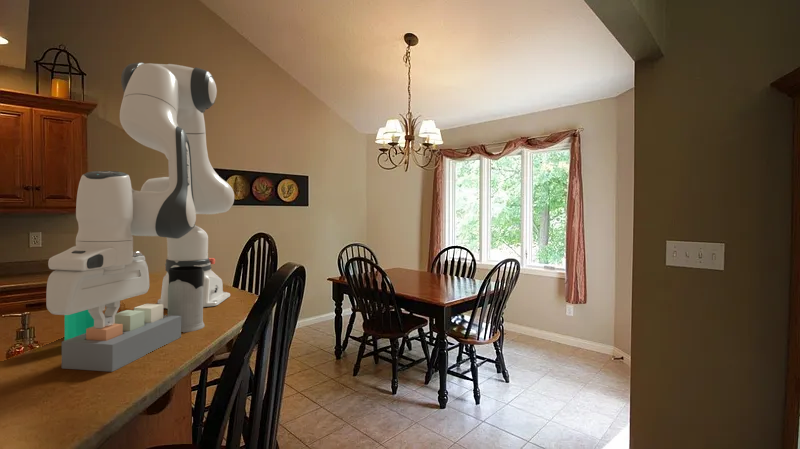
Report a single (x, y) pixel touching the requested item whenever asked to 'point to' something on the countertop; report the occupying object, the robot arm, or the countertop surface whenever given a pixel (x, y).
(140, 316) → the key mid
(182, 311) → the grey black ceramic vase
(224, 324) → the countertop surface
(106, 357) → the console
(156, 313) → the key
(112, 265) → the robot arm
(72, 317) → the candle
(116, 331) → the key
